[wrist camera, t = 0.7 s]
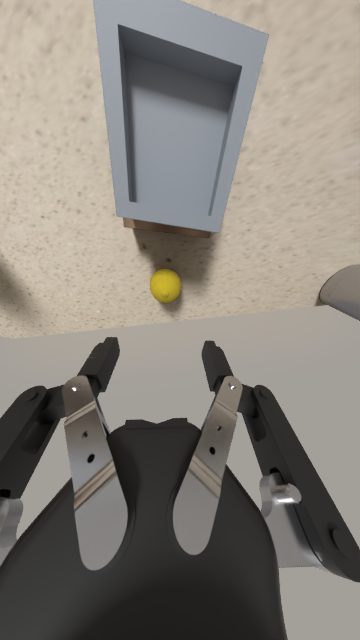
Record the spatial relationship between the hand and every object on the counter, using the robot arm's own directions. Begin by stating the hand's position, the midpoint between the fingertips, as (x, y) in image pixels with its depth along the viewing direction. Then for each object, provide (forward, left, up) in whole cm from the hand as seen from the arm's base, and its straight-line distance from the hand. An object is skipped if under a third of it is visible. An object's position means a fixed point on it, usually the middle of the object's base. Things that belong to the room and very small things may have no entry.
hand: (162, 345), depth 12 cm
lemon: (0, 0, -18) cm, 18 cm away
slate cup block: (0, -14, -14) cm, 20 cm away
